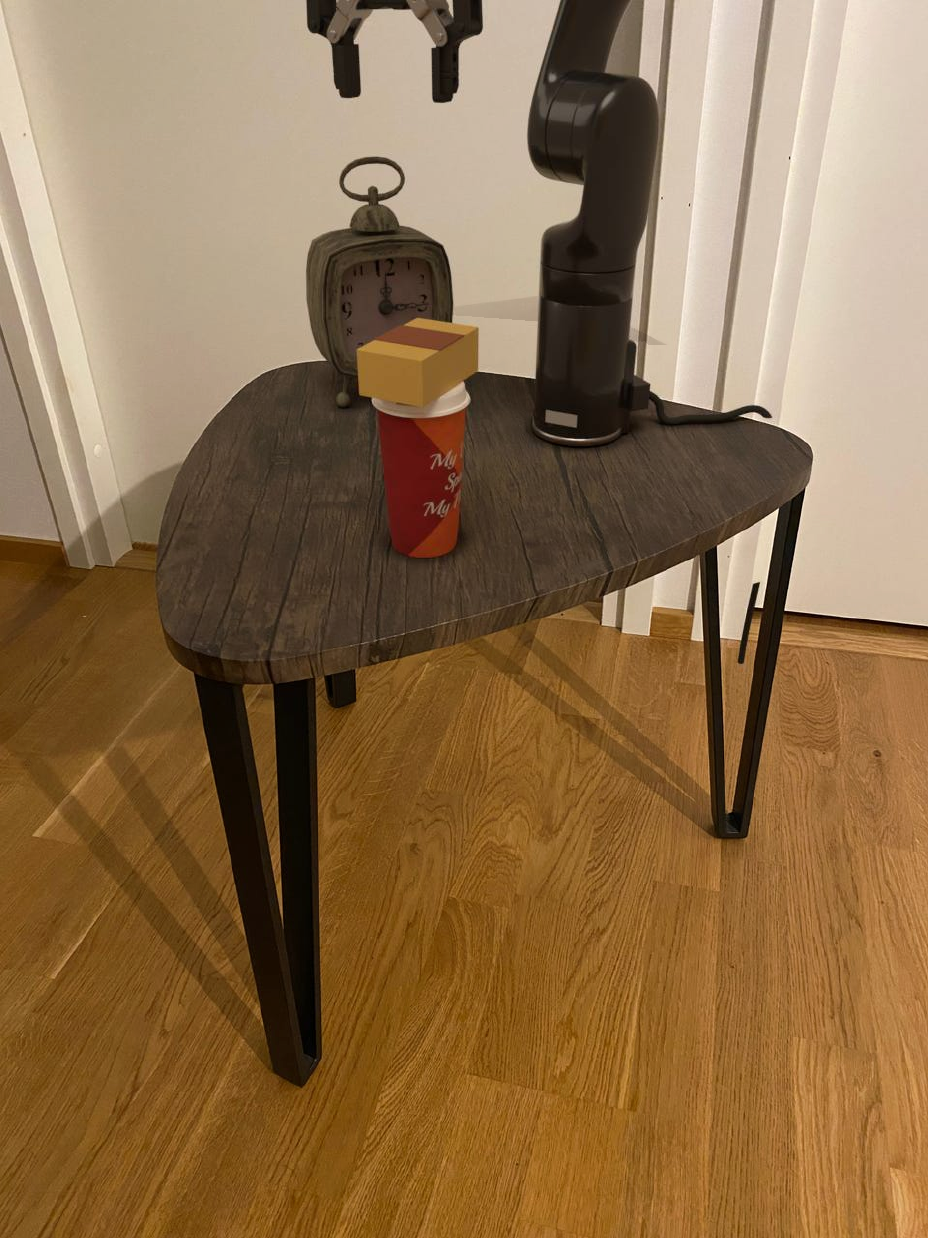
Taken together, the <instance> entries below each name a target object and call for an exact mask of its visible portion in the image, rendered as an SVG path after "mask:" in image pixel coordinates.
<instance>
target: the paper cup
mask: <svg viewBox="0 0 928 1238" xmlns="http://www.w3.org/2000/svg"><path fill="white" fill-rule="evenodd" d="M371 403H372V405H373V407H374V408H375V409H376V417H377V426H378V435H379V444H380V453H381V462H382V463H381V464H382V471H383V481H384V490H385V498H386V508H387V516H388V525H389V533H390V538H391V544H392V547H393V548H394V550H395V551H396V552H398V553H399V554H401V555H404V556H406V557H411V558H416V559H417V558H418V559H429V558H436V557H441V556H444V555H446V554H448V553H450V552H451V551H453V550H454V549H455V548H456V546H457V543H458V537H459V536H458V535H459V526H460V525H459V523H460V513H461V497H462V495H461V494H462V479H463V463H464V462H463V461H464V448H465V447H464V446H465V445H464V444H465V429H466V411H467V407H468V405H469V404H470V403H471V396H470V394H469V392H468V391H467V389H466V384H465V382H464V381H462V382H461V383H459V384H458V385H456V386H455V387H453V388H452V389H450V390H449V391H447V392H446V393H444V394H443V395H441V396H440V397H438V398H437V399H435V400H433V401H432V402H430V403H429V404H427V405H426V406H424V407H418V406H413V405H408V404H402V403H397V402H392V401H387V400H382V399H377V398H371Z"/></svg>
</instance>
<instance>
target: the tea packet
mask: <svg viewBox="0 0 928 1238" xmlns="http://www.w3.org/2000/svg"><path fill="white" fill-rule="evenodd" d="M479 331H480V330H479V326H474V325H467V324H461V323H455V322H454V323H453V322H452V323H448V322H442V321H435V320H429V319H422V318H416V319H414V320H412V321H410V322H408V323H406V324H405V325H400V326H398V327H396V328H394V329H392V330H390V331H388V332H386V333H384V334H382V335H380V336H379V337H377V338H375V339H374V341H372V342H370V343H368V344H366V345H364V346H362V347H360V348H359V349H357V364H358V379H357V380H358V394H359V396H361V397H366V398H367V397H368V398H371V399H372V398H377V399H382V400H387V401H392V402H397V403H402V404H408V405H413V406H418V407H424V406H426V405H427V404H429V403H430V402H432V401H433V400H435V399H437V398H438V397H440V396H441V395H443V394H444V393H446V392H447V391H449V390H450V389H452V388H453V387H455V386H456V385H458V384H459V383H461V382H462V381H463V382H464V381H465V380H467V379H468V378H469V377H471V376H472V375H474V374H476V373H477V372H479V335H480V334H479Z"/></svg>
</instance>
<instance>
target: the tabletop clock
mask: <svg viewBox="0 0 928 1238" xmlns="http://www.w3.org/2000/svg"><path fill="white" fill-rule="evenodd" d="M377 164H378V165H386V166H389V167H391V168H393V169H394V170H395V171H396V172H397V173H398V175H399V179H400V181H399V184H398V185H397V186H396V187H395V188H393V189H390V190H388V191H386V192H383V193H379V189H378V187H377V186H374V185H371V186H369V187H368V189H367V194H360V193H356V192H352V191H350V190H348V189H347V188H346V186H345V184H344V183H345V179H346V177H347V175H348V174H349V173H350V172H351V171H352V170H354V169H356V168H357V167H361V166H366V165H377ZM405 176H406V175H405V173H404V171H403V169H402V167H401V166H400V164H398V163H397V162H396V161H395V160H392V159H390V158H388V157H386V156H385V157H384V156H364V157H360V158H357V159H354V160H352V161H351V162H349V163H347V165H346V166H344V168H343V169H342V170H341V173H340V176H339V180H338V183H339V188H340V189H341V192H342V193H343V194H344V195H345V196H347V197H348V198H349V199H352V200H353V201H357V202H361V203H368V204H364V205H361V206H360V207H358V208H357V209H355V211H354V213H353V215H352V216H351V219H350V222H349V227H347V228H341V229H335V230H330V231H328V232H325V233H322V234H321V235H319V236H316V237H315V238H313V239H312V240H311V242H310V245H309V249H308V252H307V256H306V268H305V280H306V281H305V288H306V289H305V292H306V295H305V296H306V297H305V298H306V305H307V311H308V318H309V324H310V331H311V334H312V337H313V341H314V343H315V345H316V347H317V349H318V351H319V353H320V355H321V356H322V357H323V358H324V359H325V360H326V362H327V363H328V364H329V365H330V367H331V368H332V369H333V370H334V371H335V373H336V374H337V375H339V376H342V377H343V385H342V390H341V391H340V392H339V393H337V394H336V395H335V398H334V399H335V403H336V405H337V406H338V407H340V408H346V407H347V406H348V405H349V404H351V403H350V402H351V397H350V395H349V393H348V391H349V388H350V385H351V382H352V379H357V380H358V364H357V349H359V348H360V347H362V346H364V345H366V344H368V343H370V342H372V341H374V339H375V338H377V337H379V336H380V335H382V334H384V333H386V332H388V331H390V330H392V329H394V328H396V327H398V326H400V325H405V324H406V323H408V322H410V321H412V320H414V319H416V318H422V319H429V320H435V321H442V322H448V323H453V318H454V317H453V316H454V293H453V278H452V270H451V264H450V260H449V256H448V254H447V252H446V249H445V247H444V245H443V244H442V243H440V242H438V241H437V240H435V239H434V238H432V237H431V236H429V235H427V234H425V233H424V232H422V231H420V230H418V229H415V228H414V227H410V226H405V225H400V223H399V219H398V217H397V216H396V214H395V212H394V211H393V210H392V209H391V208H390V207H389V206H387V205H385V204H380V203H379V202H382V201H387V200H389V199H391V198H393V197H395V196H397V195H398V194H399V193H400V192H401V191H402V189H403V187H404V185H405V182H406V177H405Z"/></svg>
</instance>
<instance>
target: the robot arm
mask: <svg viewBox="0 0 928 1238" xmlns="http://www.w3.org/2000/svg"><path fill="white" fill-rule="evenodd" d="M305 1H306V2H305V3H306V26H307V29H308V31H309V32H310V33H311V34H317V35H319V36H321V37H323V38H325V39H327V40H328V42H329V44H330V46H331V56H332V58H331V59H332V72H333V84H334V87H335V89H336V90H338V93H339V97H340V98H342V99H355V98H359V97H360V96H361V95H362V94H361V93H362V85H361V84H362V83H361V81H362V80H361V64H360V44H359V43H355V40H356V38H357V36H358V34H359V32H360V31H361V28H362V27H363V24H364V22H365V20H367V19H369V17H370V16H371V15H372V14H373V11H374V10H395V11H406V10H407V11H409V10H411V12H412V14H413V15H414V16H415V18H416V19H417V20H419V22H421V24H422V25H423V26H424V28H425V29H426V31H427V33H428V35H429V37H430V38H431V40H432V42H433V43H434V45H435V46H434V47H430V50H431V52H430V53H431V55H430V56H431V98H432V101H433V103H435V104H445V103H451V102H452V101H453V99H454V94H457V93H458V90H459V87H460V78H459V77H460V72H459V71H460V47H461V45H462V43H463V42H464V41H466V40H468V39H470V38H472V37H476V36H479V35H481V34H482V32H483V29H484V19H483V18H484V16H483V14H484V13H483V0H452V1H451V2H452V13H451V12H450V5H449V2H448V0H305ZM632 1H633V0H560V1H559V3H558V6H557V7H558V8H557V11H556V13H555V18H554V21H553V25H552V29H551V32H550V35H549V38H548V42H547V45H546V49H545V52H544V55H543V58H542V63H541V65H540V69H539V72H538V76H537V78H536V82H535V85H534V89H533V94H532V97H531V102H530V107H529V112H528V118H527V127H526V128H527V129H526V143H527V145H526V146H527V152H528V157H529V161H531V163H532V166H533V168H534V169H535V171H536V172H537V173H538V174H539V175H540V176H542V177H543V178H546V179H548V180H552V181H557V182H561V183H566V184H574V185H577V186H578V185H579V186H583V187H582V195H581V201H580V206H579V211H578V213H577V215H576V216H574V218H572V219H570V220H567V221H563V222H560V223H556V224H552V225H551V226H549V227H548V228H546V229H545V230H544V232H543V233H542V235H541V238H540V239H541V240H540V257H539V260H540V261H539V277H538V278H539V281H538V302H537V303H538V306H537V325H536V326H537V327H536V329H537V330H536V354H535V374H534V375H535V378H534V402H533V417H532V426H531V427H532V428H531V429H532V431H533V433H534V434H535V435H536V436H537V437H538V438H540V439H542V440H545V441H546V442H549V443H553V444H557V445H563V446H568V447H593V446H600V445H604V444H608V443H610V442H613V441H615V440H617V439H618V438H619V437H620V436H621V435H623V434H628V433H629V430H630V422H631V421H630V420H631V412H636V411H641V410H647V409H649V402H650V401H651V402H652V403H653V404H654V406H655V411H656V416H657V419H658V420H659V422H661V423H663V424H665V425H669V426H677V425H681V424H686V423H714V422H718V423H719V422H723V421H728V420H732V419H734V418H735V419H736V418H739V417H740V416H743V415H746V414H751V413H756V414H758V415H759V416H761V417H762V418H764V419H772V418H773V416H772V414H771V413H770V411H769V410H768V409H766V408H765V407H763V406H761V405H756V404H748V405H745V406H740V407H738V408H734V409H732V410H729V411H726V412H721V413H713V414H710V413H709V414H685V415H680V416H675V417H674V416H673V417H669V416H667V415H666V413H665V408H664V403H663V400H662V399H661V398H660V397H659V395H657V394H656V393H655V392H653V391H651V383H649V382H648V381H647V380H644V379H643V378H641V377H639V376H637V375H636V374H635V369H636V359H637V348H638V346H637V343H636V342H635V341H634V340H632V339H630V334H631V324H632V314H633V313H632V311H633V301H634V289H635V278H636V269H637V258H638V251H639V247H640V245H641V244H640V243H641V241H642V239H643V236H644V233H645V230H646V226H647V223H648V217H649V210H650V203H651V195H652V188H653V181H654V176H655V168H656V162H657V155H658V150H659V149H658V148H659V140H660V109H659V104H658V99H657V97H656V93H655V91H654V89H653V87H652V86H651V84H650V83H649V82H648V81H646V79H644V78H642V77H640V76H637V75H632V74H627V73H626V74H625V73H615V72H607V67H608V63H609V60H610V56H611V52H612V49H613V45H614V42H615V38H616V35H617V34H618V30H619V27H620V24H621V23H622V20H623V18H624V16H625V13H626V12H627V10H628V8H629V6H630V4H631V3H632ZM760 585H761V581H758V582H754V583H752V586H751V591H750V595H749V599H748V604H747V609H746V614H745V618H744V623H743V627H742V633H741V638H740V642H739V643H740V645H739V650H738V657H737V661H736V662H737V664H739V665H743V664H744V663H745V660H746V659H745V658H746V654H747V653H746V652H747V647H748V641H749V636H750V631H751V626H752V622H753V617H754V612H755V607H756V603H757V599H758V593H759V589H760V587H761V586H760Z"/></svg>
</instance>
